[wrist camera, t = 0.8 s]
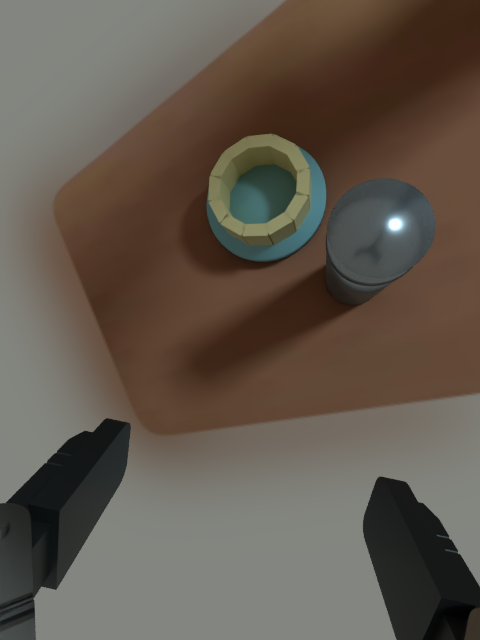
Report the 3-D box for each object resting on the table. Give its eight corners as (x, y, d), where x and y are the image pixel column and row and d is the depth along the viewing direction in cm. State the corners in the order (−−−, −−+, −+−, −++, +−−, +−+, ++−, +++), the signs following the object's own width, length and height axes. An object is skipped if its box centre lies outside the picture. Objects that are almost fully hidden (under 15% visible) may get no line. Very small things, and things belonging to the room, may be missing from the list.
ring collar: (212, 151, 32) (197, 126, 28) (328, 140, 30) (329, 111, 26) (207, 262, 32) (191, 252, 28) (323, 261, 29) (323, 250, 25)
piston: (325, 252, 29) (328, 180, 16) (382, 251, 28) (437, 173, 15) (323, 304, 29) (324, 278, 16) (380, 306, 28) (435, 279, 14)
